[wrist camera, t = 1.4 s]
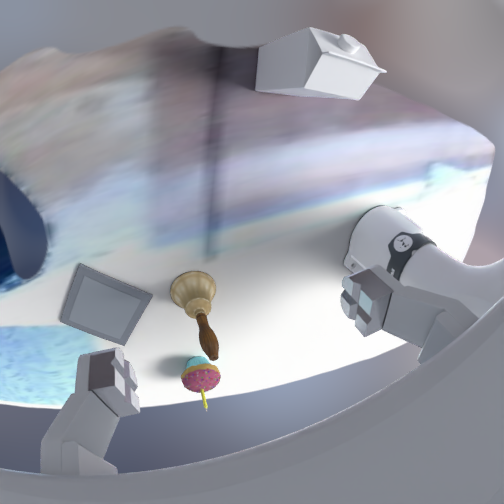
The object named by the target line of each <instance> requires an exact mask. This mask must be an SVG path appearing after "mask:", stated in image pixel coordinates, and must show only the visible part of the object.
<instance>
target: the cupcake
mask: <svg viewBox="0 0 504 504" xmlns="http://www.w3.org/2000/svg"><path fill="white" fill-rule="evenodd" d="M220 376H221V375H220V372H219V370H218V368H217V367H216V366H215V365H211V364H210V363H209V362H208V360H207V359H206V358H204V357H194V358H191V359H190V360H189V361H188V362H187V368H186V370H185V371H184V372H183V374H182V375H181V379H182V382H183V384H184V387H186V388H187V389H188V390H191V391H192V392H197V393H201V394H202V399H203V404H204V408H206V411H207V403H206V398H205V394H204V392H205V391H208V390H211V389H213V388H214V387H216V385H217V384H218V383H219V382H220Z"/></svg>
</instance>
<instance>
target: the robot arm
mask: <svg viewBox="0 0 504 504" xmlns="http://www.w3.org/2000/svg"><path fill="white" fill-rule="evenodd" d="M344 265H345V266H346V267H347V268H348V269H349V270H350V271H352V272H353V274H351V275H348V276H346V277H344V278H343V280H342V287H343V288H344V289H345V290H344V291H343V293H342V294H341V301H340V302H341V306H342V309H343V311H344V313H345V315H346V316H347V317H348V318H350V319H353V320H355V327H356V328H357V329H358V330H359V331H360V332H361V334H362V335H363V336H364V337H366V336H368V335H370V334H372V333H375V332H377V331H379V330H381V329H382V330H384V331H386V332H388V333H390V334H392V335H394V336H397V337H399V338H401V339H403V340H405V341H407V342H410V343H412V344H414V345H416V346H418V347H421V348H422V350H421V352H420V354H419V356H418V360H417V361H418V362H419V363H420V364H421V365H420V366H418V367H417V368H415V369H414V370H412V371H411V372H409V373H408V374H406V375H404V376H403V377H401V378H400V379H398V380H397V381H395V382H393V383H392V384H390V385H388V386H387V387H385V388H383V389H382V390H380V391H378V392H377V393H375V394H373V395H371V396H369V397H368V398H366V399H364V400H362V401H360V402H358V403H357V404H355V405H353V406H351V407H349V408H347V409H345V410H343V411H341V412H339V413H337V414H335V415H333V416H331V417H328V418H326V419H324V420H322V421H320V422H318V423H315V424H313V425H311V426H308V427H306V428H304V429H302V430H299V431H296V432H294V433H291V434H289V435H286V436H283V437H281V438H278V439H275V440H273V441H270V442H267V443H264V444H261V445H258V446H255V447H252V448H249V449H246V450H242V451H239V452H235V453H232V454H229V455H225V456H222V457H217V458H213V459H209V460H205V461H201V462H196V463H192V464H187V465H182V466H176V467H171V468H165V469H158V470H151V471H144V472H135V473H124V474H118V473H117V468H116V467H115V466H113V465H112V464H110V463H108V462H106V461H105V460H103V458H104V455H105V453H106V450H107V448H108V445H109V443H110V440H111V438H112V435H113V433H114V431H115V428H116V426H117V423H118V421H119V418H118V417H124V416H129V415H133V414H138V413H140V407H139V397H138V396H137V395H136V393H135V390H136V389H137V387H138V386H137V378H136V375H135V371H134V369H133V367H132V365H131V364H130V362H128V361H126V360H124V354H123V352H122V351H121V350H120V348H117V347H116V348H112V349H107V350H102V351H97V352H92V353H88V354H83V355H80V356H79V358H78V364H77V373H76V383H75V393H73V394H71V395H70V397H69V398H68V400H67V401H66V403H65V404H64V406H63V407H62V409H61V410H60V412H59V414H58V415H57V417H56V418H55V420H54V421H53V423H52V424H51V426H50V428H49V429H48V431H47V433H46V434H45V436H44V437H43V439H42V441H41V474H38V473H28V472H20V471H13V470H7V469H1V468H0V504H504V258H502V259H501V260H499V261H497V262H495V263H493V264H489V265H485V266H471V265H467V264H464V263H462V262H460V261H458V260H456V259H455V258H453V257H451V256H450V255H448V254H447V253H445V252H443V251H442V250H441V249H439V248H438V247H437V246H436V244H435V243H434V242H433V241H432V240H431V239H430V238H428V237H426V236H424V235H423V232H422V228H421V227H420V226H418V225H417V224H416V223H415V222H413V221H412V220H411V219H409V218H408V217H406V212H405V210H404V209H403V208H395V209H394V208H391V207H388V206H379V207H376V208H373V209H372V210H370V211H369V212H367V213H366V214H365V215H364V216H363V217H362V218H361V219H360V221H359V222H358V224H357V225H356V227H355V229H354V231H353V233H352V236H351V240H350V246H349V251H348V253H347V255H346V257H345V260H344Z"/></svg>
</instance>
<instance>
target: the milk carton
mask: <svg viewBox="0 0 504 504" xmlns="http://www.w3.org/2000/svg"><path fill="white" fill-rule="evenodd" d="M380 72H381V73H386V72H387V71H386V70H383V69H381V68H378V67H377V65H376V64H375V62H374V60H373V58H372V57H371V55H370V53H369V52H368V50H367V48H366V47H365V46H364V45H363V44H361V43H358V41H357V40H356V39H354V38H353V37H351V36H349V35H347V34H342V35H341V36H338V35H335V34H332V33H329V32H326V31H323V30H319V29H316V28H312V27H308V28H305V29H302V30H300V31H297V32H294V33H292V34H289V35H287V36H284V37H282V38H280V39H277V40H275V41H273V42H270V43H268V44H266V45H264V46H261V47H259V53H258V64H257V76H256V87H255V91H259V92H268V93H276V94H284V95H291V96H303V97H326V98H341V99H352V100H360V99H361V97H362V96H363V95H364V93H365V92H366V90H367V89H368V88H369V86H370V85H371V84H372V82H373V81H374V80H375V78H376V77H377V75H378V74H379V73H380Z"/></svg>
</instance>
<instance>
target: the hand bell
mask: <svg viewBox="0 0 504 504" xmlns="http://www.w3.org/2000/svg"><path fill="white" fill-rule="evenodd" d="M215 292H216V285H215V282H214V280H213V279H212V277H211V276H209V275H208V274H206V273H204V272H199V271H191V272H187V273H184V274H182V275H181V276H179V277H178V278H177V279H176V280H175V281H174V282H173V284H172V286H171V291H170V293H171V298H172V300H173V301H174V302H175V304H177V305H178V306H179V307H181V308H184V309H185V312H186V314H187V315H188V316H189V317H191V318H194V319H196V320H197V323H198V325H199V340H200V345H201V347H202V349H203V351H204V352H205V353H206V355H207V356H208V357H209V359H210V360H212V361H215V360H217V359H218V350H219V345H218V340H217V337H216V335H215V333H214V332H213V330H212V329H211V328H210V327H209V325H208V321H207V315H208V314H209V313H210V311H211V300H212V299H213V297H214V295H215Z"/></svg>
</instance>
